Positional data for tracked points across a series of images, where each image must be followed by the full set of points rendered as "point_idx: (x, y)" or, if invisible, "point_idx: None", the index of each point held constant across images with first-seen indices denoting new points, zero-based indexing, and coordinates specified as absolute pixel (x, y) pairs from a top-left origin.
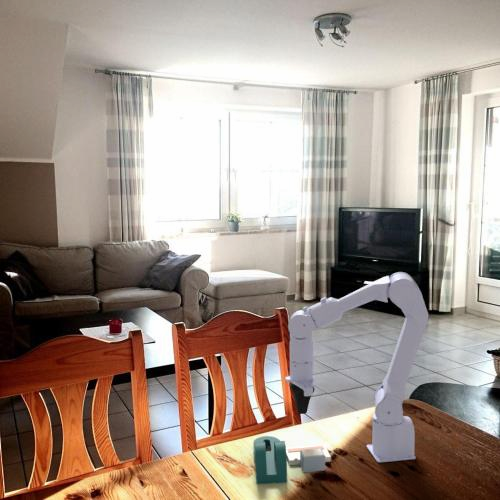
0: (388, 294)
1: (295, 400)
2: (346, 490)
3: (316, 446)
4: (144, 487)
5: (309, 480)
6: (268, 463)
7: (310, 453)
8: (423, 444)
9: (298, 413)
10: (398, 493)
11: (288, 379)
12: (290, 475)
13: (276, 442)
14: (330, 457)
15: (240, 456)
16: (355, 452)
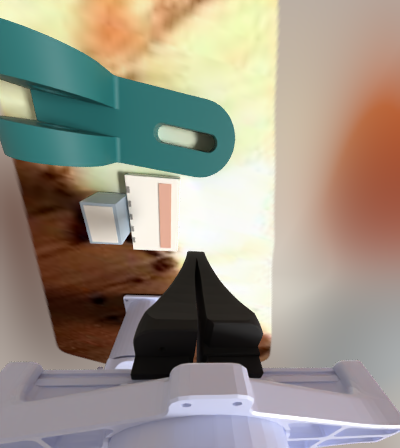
0: None
1: (192, 277)
2: (46, 238)
3: (170, 238)
4: None
5: (72, 193)
6: (92, 113)
7: (96, 220)
8: None
9: (188, 252)
10: (48, 290)
11: (173, 408)
12: None
13: (25, 130)
14: (134, 247)
15: (187, 52)
16: (158, 280)
